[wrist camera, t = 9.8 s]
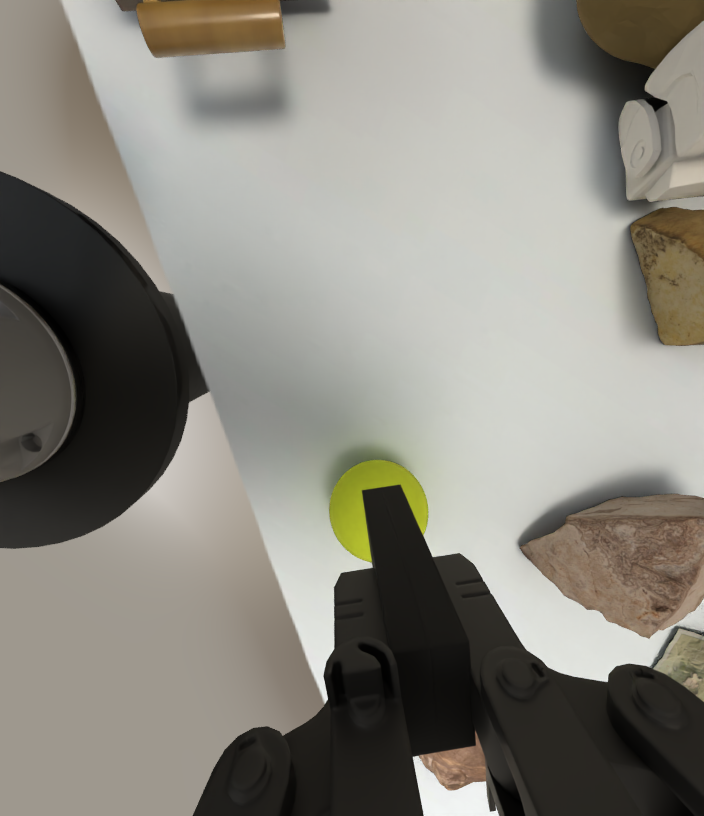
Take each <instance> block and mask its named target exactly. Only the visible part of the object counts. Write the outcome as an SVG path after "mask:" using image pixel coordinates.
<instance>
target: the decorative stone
mask: <svg viewBox="0 0 704 816" xmlns="http://www.w3.org/2000/svg"><path fill="white" fill-rule="evenodd" d="M576 2H577V11H578V15H579V18H580V21H581V23H582V25H583V27H584V29H585V31H586V32H587V34H588V35H589V37H590V38H591V39H592V40H593V41H594V42H595V43H596V44H597V45H598V46H599V47H600V48H601V49H603V50H604V51H606V52H607V53H609V54H610V55H612V56H614V57H616V58H619V59H622V60H625V61H630V62H635V63H639V64H643V65H645V66H648V67H650V68H655V69H656V68H657V66H658V65H659V64H660V63H661V62H662V60H663V59H664V58H665V57H666V55H667V54H668V53H669V52H670V51H671V50H672V49H673V48H674V47H675V46H676V45H677V44H678V43H679V42H680V41H681V40H682V39H683V38H684V37H685V36H686V35H687V34H688V33H690V32H691V31H692V30H693V29H694V28H696V27H697V26H698V25H699V24H700V23H701V22H703V21H704V0H576Z"/></svg>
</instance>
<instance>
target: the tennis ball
mask: <svg viewBox="0 0 704 816" xmlns="http://www.w3.org/2000/svg"><path fill="white" fill-rule="evenodd" d="M400 484H401V486H402V489H403V491H404V493H405V496H406V498H407V500H408V502H409V505H410V507H411V509H412V512H413V514H414V516H415V518H416V521H417V523H418V525H419V528H420V530H421V532H422V534H423V535H424V532H425V530H426V526H427V522H428V504H427V499H426V495H425V493H424V491H423V488H422V486H421V485H420V483H419V482H418V480H417V479H416V478H415V477H414V475H413V474H411V473H410V472H409V471H408V470H407V469H405V468H404V467H402V466H400V465H398V464H396V463H393V462H390V461H385V460H370V461H365V462H362V463H359V464H357V465H355V466H354V467H352V468H350V469H349V470H348V471H347V472H346V473H345V474H344V475H343V476H342V477H341V478H340V479H339V481H338V482H337V484H336V486H335V487H334V490H333V492H332V495H331V499H330V507H329V514H330V521H331V525H332V528H333V531H334V533H335V535H336V537H337V539H338V540H339V542H340V543H341V544H342V546H343V547H344V548H345V549H346V550H347V551H349V552H350V553H351V554H352V555H354V556H356V557H357V558H360V559H362V560H365V561H368V562H372V559H371V553H370V546H369V539H368V532H367V525H366V517H365V510H364V503H363V496H362V490H366V489H373V488H380V487H386V486H393V485H400Z"/></svg>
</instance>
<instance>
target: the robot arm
mask: <svg viewBox="0 0 704 816" xmlns="http://www.w3.org/2000/svg"><path fill="white" fill-rule="evenodd" d="M84 407H85V384H84V377H83V373H82V369H81V365H80V363H79V360H78V357H77V355H76V352H75V350H74V348H73V346H72V344H71V343H70V341H69V339H68V337H67V336H66V334H65V333H64V331H63V330H62V328H61V327H60V326H59V325H58V323H57V322H56V321H55V320H54V318H53V317H52V316H51V315H50V314H49V313H48V312H47V311H46V310H45V309H44V308H43V307H42V306H41V305H39V304H38V303H37V302H36V301H35V300H34V299H32V298H31V297H30V296H28V295H27V294H26V293H24V292H23V291H21V290H20V289H18V288H16V287H15V286H13V285H11V284H9V283H7V282H6V281H4V280H2V279H0V482H2V481H5V480H8V479H12V478H15V477H18V476H20V475H23V474H25V473H27V472H29V471H31V470H33V469H35V468H38V467H40V466H42V465H44V464H46V463H47V462H49V461H50V460H52V459H54V458H55V457H56V456H57V455H59V454H60V453H61V452H62V451H63V450H64V449H65V448H66V447H67V446H68V444H69V443H70V442H71V440H72V439H73V437H74V436H75V434H76V432H77V430H78V428H79V426H80V423H81V420H82V417H83V412H84ZM362 496H363V503H364V510H365V517H366V525H367V532H368V539H369V546H370V553H371V559H372V565H373V568H370V569H364V570H357V571H351V572H344V573H341V574H340V577H339V579H338V581H337V583H336V585H335V587H334V605H335V607H334V618H335V621H334V637H335V649H334V651H333V652H332V654H331V655H330V657H329V659H328V660H327V662H326V667H325V671H324V680H325V685H326V690H327V696H328V700H327V702H326V704H325V705H324V707H323V708H322V709H321V710H320V711H319V712H318V714H317V715H316V716H314V717H313V718H312V719H310V720H309V721H308V722H306V723H304V724H303V725H301V726H299V727H297V728H296V729H294V730H292V731H291V732H289V733H287V734H285V735H284V736H282V734H281V733H280V732H279V731H277V730H275V729H272V728H270V727H258V728H253V729H251V730H249V731H247V732H245V733H243V734H242V735H240V736H238V737H237V738H236V739H235V740H234V741H233V742H232V743H231V744H230V745H229V746H228V747H227V748H226V749H225V750H224V752H223V754H222V756H221V757H220V759H219V761H218V762H217V764H216V766H215V767H214V769H213V771H212V773H211V776H210V778H209V780H208V782H207V785H206V787H205V789H204V791H203V794H202V796H201V798H200V800H199V803H198V805H197V807H196V809H195V812H194V814H193V816H424V815H423V810H422V805H421V799H420V794H419V789H418V783H417V778H416V773H415V768H414V762H413V756H419V755H425V754H431V753H437V752H443V751H448V750H454V749H460V748H466V747H472V746H476V737H475V731H476V733H477V736H478V739H479V742H480V745H481V748H482V750H483V753H484V756H485V768H486V785H487V797H488V803H489V808H490V812H491V811H496V807H497V810H498V813H499V816H704V702H703V701H702V700H701V699H700V698H698V697H697V696H696V695H695V694H693V693H692V692H691V691H690V690H688V689H687V688H686V687H684V686H683V685H681V684H680V683H678V682H677V681H675V680H674V679H672V678H671V677H669V676H668V675H666V674H664V673H662V672H659V671H657V670H654V669H652V668H649V667H647V666H642V665H635V664H625V665H621V666H616V667H615V668H614V669H613V670H612V671H611V672H610V673H609V676H608V682H602V681H596V680H590V679H584V678H578V677H572V676H569V675H565V674H561V673H559V672H556V671H554V670H552V669H550V668H548V667H547V666H546V665H545V664H544V663H543V661H542V660H540V659H539V658H537V657H536V656H534V655H533V654H531V653H530V652H529V651H527V650H526V649H525V647H524V646H523V645H522V643H521V642H520V640H519V639H518V637H517V635H516V634H515V632H514V630H513V629H512V627H511V625H510V624H509V622H508V620H507V619H506V617H505V615H504V614H503V612H502V610H501V609H500V607H499V605H498V604H497V602H496V600H495V599H494V597H493V595H492V594H491V593H490V590H489V589H488V587H487V585H486V584H485V582H483V579H482V577H481V575H480V574H479V572H478V570H477V569H476V567H475V565H474V564H473V563H472V562H470V561H469V560H468V559H466V558H465V557H464V556H463V555H461V554H460V553H458V554H451V555H445V556H439V557H432V555H431V553H430V550H429V548H428V546H427V543H426V541H425V539H424V537H423V534H422V532H421V530H420V528H419V525H418V523H417V521H416V518H415V516H414V514H413V512H412V509H411V507H410V505H409V502H408V500H407V498H406V496H405V493H404V491H403V489H402V486H401V484H400V485H393V486H386V487H380V488H373V489H366V490H362ZM495 804H496V806H495Z"/></svg>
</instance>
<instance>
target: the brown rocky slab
mask: <svg viewBox="0 0 704 816" xmlns="http://www.w3.org/2000/svg"><path fill="white" fill-rule="evenodd" d="M475 737H476V746H472V747H466V748H460V749H454V750H448V751H443V752H437V753H431V754H425V755H419V757H420V759H421V760H422V762H423V764H424V765H425V767H426V768H427V769H429V770H430V771H431V772H433V773H434V774H435V776H436V778H437V779H438V780H439V782H440V784H441V785H443V786H444V787H445V788H446V789H447V790H457V789H459V788H462V787H464V786H466V785H468V784H470V783H472V782H482V781H486V768H485V756H484V753H483V750H482V748H481V745H480V742H479V739H478V736H477V733H476V731H475Z"/></svg>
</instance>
